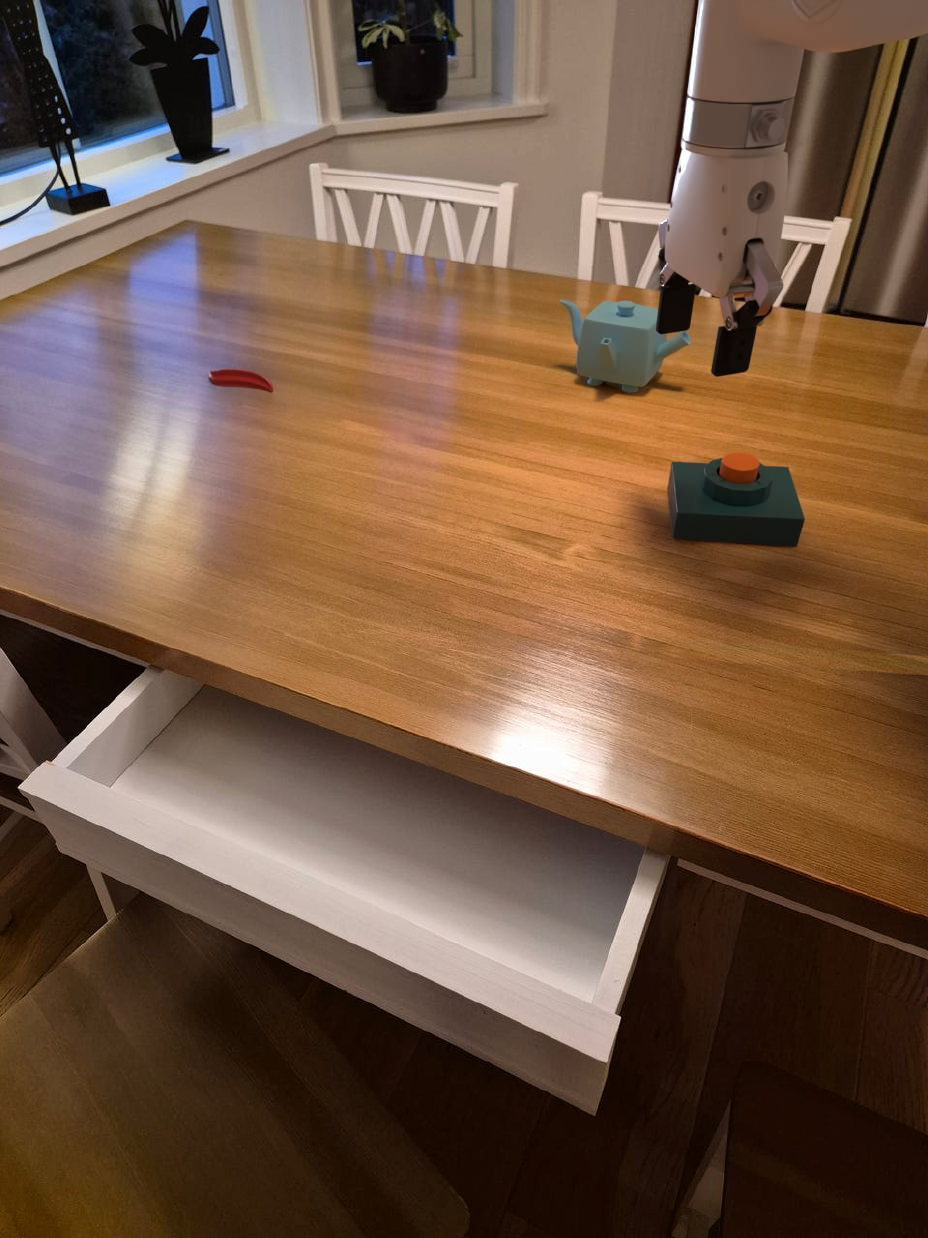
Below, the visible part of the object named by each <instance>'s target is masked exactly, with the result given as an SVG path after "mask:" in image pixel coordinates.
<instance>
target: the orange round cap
mask: <svg viewBox="0 0 928 1238" xmlns="http://www.w3.org/2000/svg"><path fill="white" fill-rule="evenodd" d="M721 458H722V461H721V466H720V472H719V476H720V477H721V478H722V479H723V480H725V481H728V482H731V483H734V484H749V483H753V482H755V481H756V478H757V474H758V469H759V465H760V463H761V462H760V460H759V459H758V458H757V457H755V456H754V455H751V454H750V453H745V452H730V453H727V454H725V455H723V456H722V457H721Z"/></svg>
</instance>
